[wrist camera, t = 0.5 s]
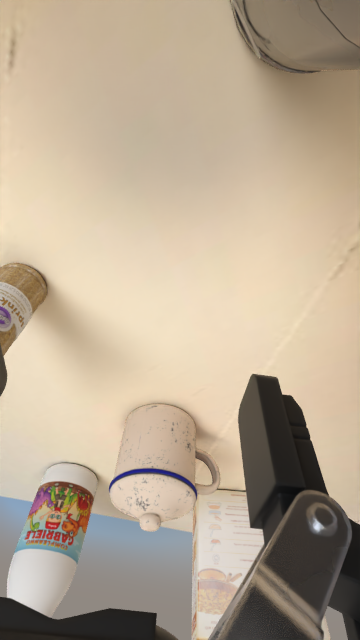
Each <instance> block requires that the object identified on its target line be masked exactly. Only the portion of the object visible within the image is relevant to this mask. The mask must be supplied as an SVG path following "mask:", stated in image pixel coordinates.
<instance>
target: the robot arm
mask: <svg viewBox="0 0 360 640" xmlns="http://www.w3.org/2000/svg"><path fill="white" fill-rule="evenodd" d="M231 5H232V10H233V13H234V17H235V20H236V23H237V25H238V28H239V30H240V32H241V34H242V36H243V38H244V39H245V41H246V43H247V44H248V46H249V47H250V48H251V49H252V51H253V52H254V53H255V54H256V55H257V56H258V58H260V59H262V60H263V61H264V62H266V63H267V64H269V65H270V66H272V67H274V68H276V69H279V70H282V71H286V72H291V73H313V72H319V71H329V70H357V69H360V0H231ZM6 382H7V371H6V366H5V362H4V357H3V353H2V348H1V344H0V396H1V394H2V393H3V391H4V389H5V386H6ZM238 423H239V433H240V441H241V450H242V459H243V468H244V477H245V486H246V495H247V504H248V513H249V521H250V528H254V529H262V530H263V537H264V544H263V546H262V548H261V549H260V551H259V553H258V555H257V556H256V558H255V560H254V562H253V563H252V565H251V567H250V569H249V570H248V572H247V574H246V576H245V577H244V579H243V581H242V583H241V584H240V586H239V588H238V590H237V591H236V593H235V595H234V597H233V598H232V600H231V602H230V604H229V605H228V607H227V609H226V610H225V612H224V614H223V615H222V617H221V618H220V620H219V622H218V623H217V625H216V627H215V628H214V630H213V632H212V633H211V635H210V637H209V639H208V640H324V631H323V630H322V620H323V617H324V614H325V611H326V609H327V606H330V607H331V608H333V609H335V610H337V611H339V612H341V613H342V614H343V618H344V623H345V627H346V632H347V637H348V640H360V525H359V524H357V523H356V522H354V521H352V520H351V519H349V518H348V517H347V515H346V513H345V512H344V510H343V509H342V508H341V506H340V505H339V504H338V503H337V502H336V501H335V500H333V499H332V498H331V497H330V496H329V494H328V492H327V489H326V487H325V483H324V480H323V477H322V474H321V470H320V467H319V464H318V461H317V457H316V454H315V451H314V448H313V444H312V441H310V435H309V431H308V428H306V422H305V418H304V415H303V412H302V409H301V408H300V407H299V405H298V404H297V403H296V401H295V400H294V399H293V397H292V396H290V395H282V393H281V389H280V385H279V381H278V379H277V378H276V377H272V376H265V375H257V374H252V375H251V377H250V380H249V383H248V385H247V388H246V391H245V393H244V396H243V399H242V402H241V404H240V408H239V416H238ZM156 616H157V614H156V613H148V612H139V611H130V610H121V609H111V608H109V609H105V610H100V611H96V612H92V613H87V614H83V615H78V616H74V617H69V618H65V619H60V620H57V619H52V618H50V617H48V616H46V615H44V614H42V613H40V612H38V611H36V610H34V609H32V608H30V607H28V606H26V605H24V604H22V603H20V602H18V601H16V600H13V599H11V598H4V597H0V640H178V639H177V638H176V637H175V636H173V635H172V634H170V633H169V632H167V631H166V630H165V629H163V628H160V627H159V626H157V625H156Z"/></svg>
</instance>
